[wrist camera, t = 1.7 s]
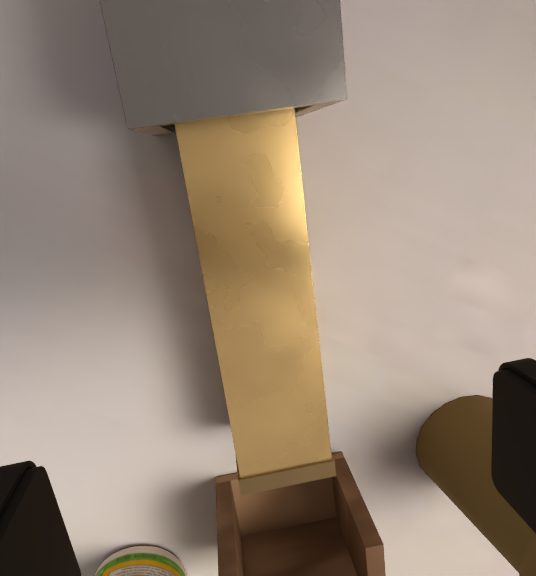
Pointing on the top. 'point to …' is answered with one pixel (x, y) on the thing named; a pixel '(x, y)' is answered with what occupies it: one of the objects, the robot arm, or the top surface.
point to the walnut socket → (297, 529)
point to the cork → (474, 476)
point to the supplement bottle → (141, 563)
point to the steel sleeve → (223, 58)
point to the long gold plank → (260, 293)
